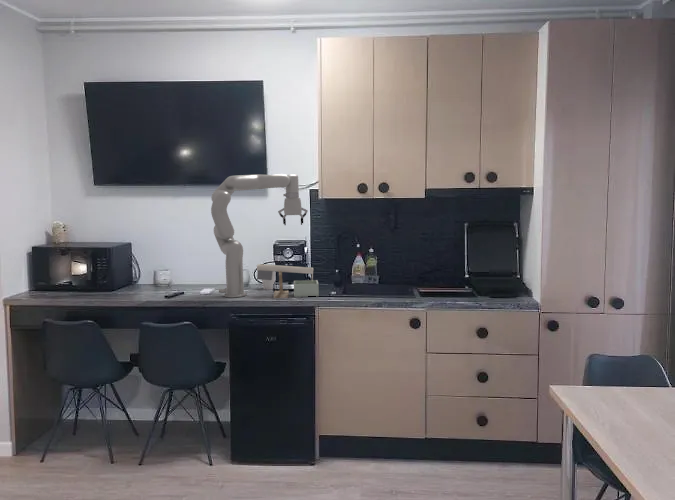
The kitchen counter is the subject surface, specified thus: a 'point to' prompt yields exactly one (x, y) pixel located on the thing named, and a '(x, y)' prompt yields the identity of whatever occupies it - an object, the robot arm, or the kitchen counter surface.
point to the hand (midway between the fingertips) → (293, 224)
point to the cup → (306, 288)
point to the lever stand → (281, 289)
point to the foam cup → (269, 282)
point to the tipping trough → (266, 270)
